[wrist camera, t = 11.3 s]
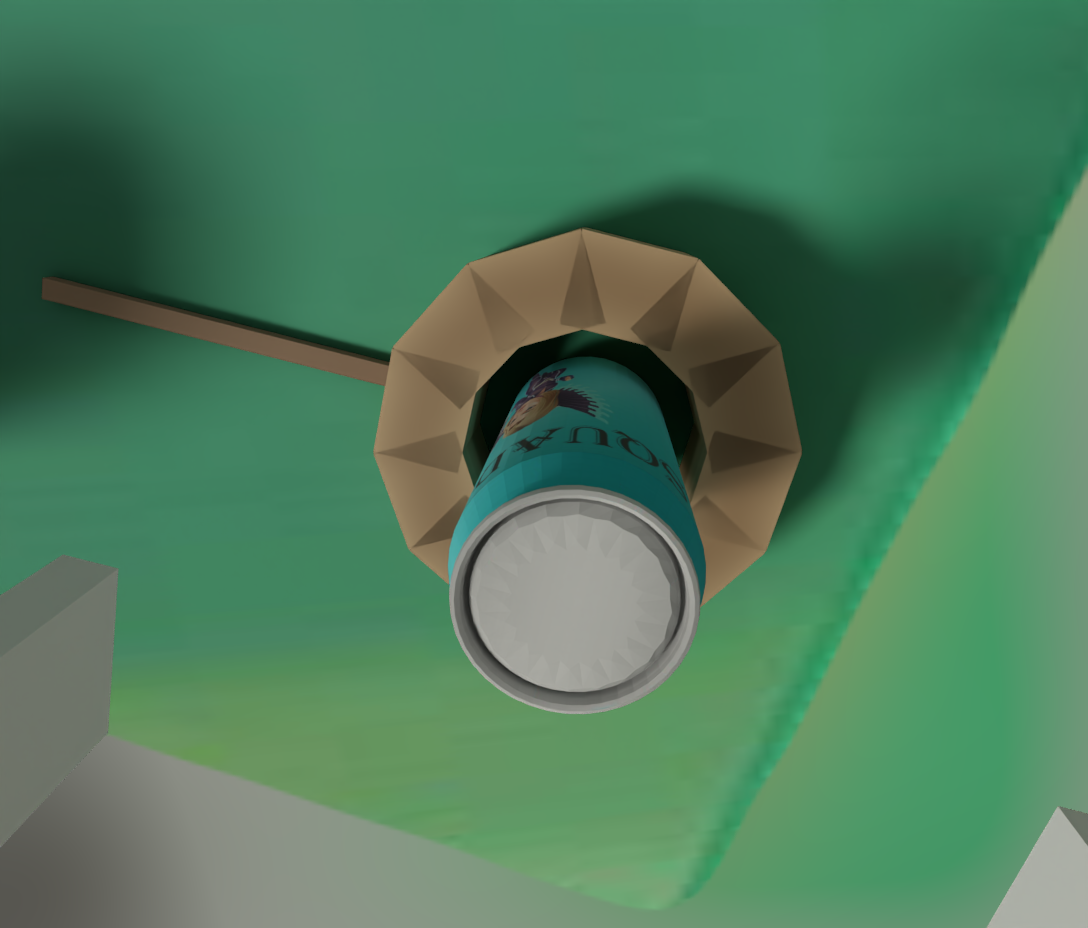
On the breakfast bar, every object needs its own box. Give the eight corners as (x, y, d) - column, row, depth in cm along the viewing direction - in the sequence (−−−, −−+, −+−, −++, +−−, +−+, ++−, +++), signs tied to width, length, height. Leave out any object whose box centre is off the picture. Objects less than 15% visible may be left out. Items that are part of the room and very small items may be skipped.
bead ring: (445, 191, 28) (421, 187, 24) (823, 288, 28) (858, 299, 24) (379, 539, 32) (349, 582, 28) (706, 622, 32) (720, 676, 29)
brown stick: (53, 276, 30) (42, 277, 29) (407, 366, 30) (403, 369, 29) (52, 297, 30) (41, 298, 30) (403, 386, 30) (399, 389, 30)
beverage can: (592, 316, 29) (585, 415, 15) (692, 428, 30) (775, 622, 16) (482, 416, 30) (376, 594, 16) (580, 520, 31) (563, 773, 17)
